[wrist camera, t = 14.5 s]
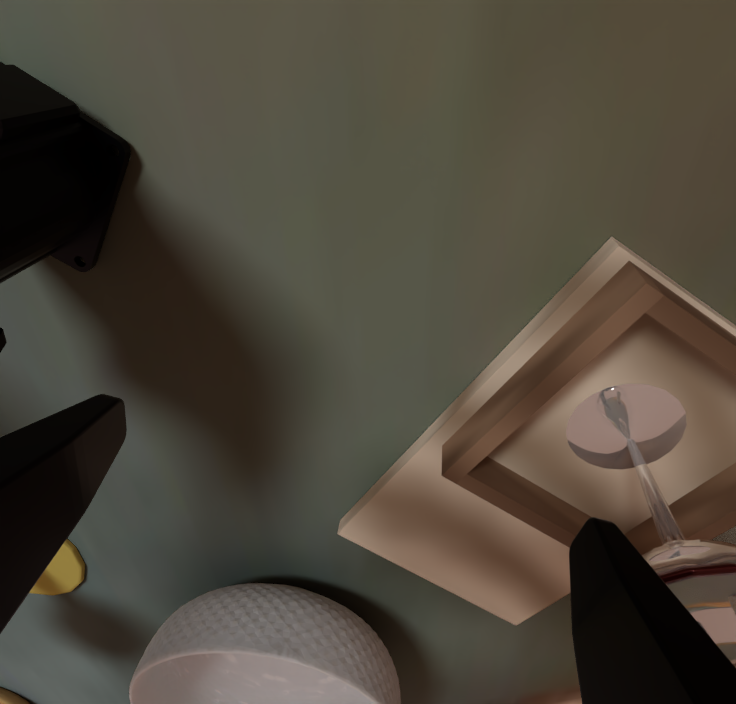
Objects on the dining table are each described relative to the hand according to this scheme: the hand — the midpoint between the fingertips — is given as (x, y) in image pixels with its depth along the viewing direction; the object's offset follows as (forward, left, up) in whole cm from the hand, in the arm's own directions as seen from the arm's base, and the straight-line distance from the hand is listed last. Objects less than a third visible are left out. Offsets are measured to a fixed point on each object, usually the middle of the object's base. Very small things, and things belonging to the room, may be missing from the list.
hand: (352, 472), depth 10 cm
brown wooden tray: (-6, -13, -13) cm, 19 cm away
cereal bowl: (-28, -9, -13) cm, 32 cm away
